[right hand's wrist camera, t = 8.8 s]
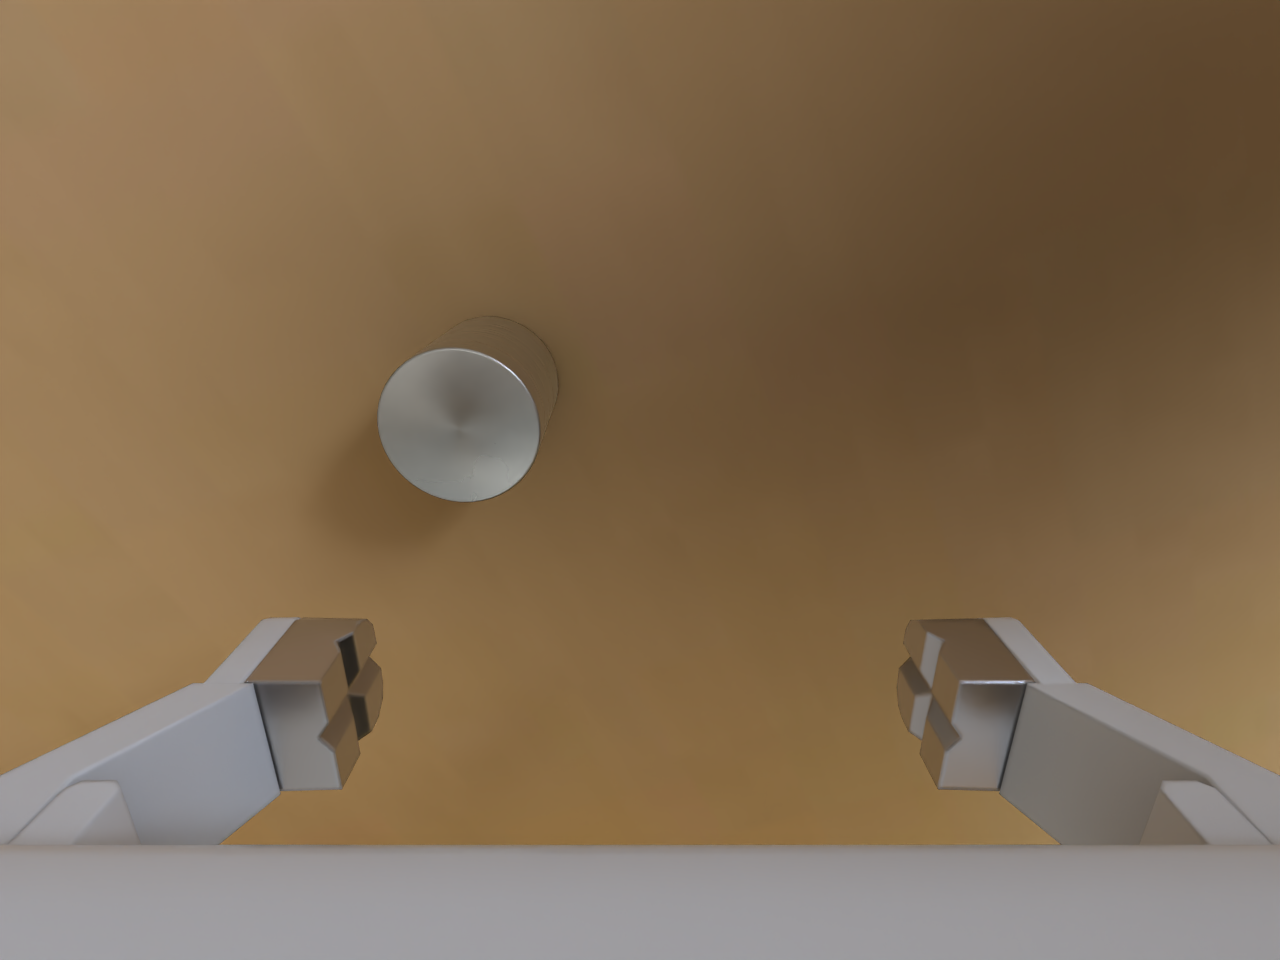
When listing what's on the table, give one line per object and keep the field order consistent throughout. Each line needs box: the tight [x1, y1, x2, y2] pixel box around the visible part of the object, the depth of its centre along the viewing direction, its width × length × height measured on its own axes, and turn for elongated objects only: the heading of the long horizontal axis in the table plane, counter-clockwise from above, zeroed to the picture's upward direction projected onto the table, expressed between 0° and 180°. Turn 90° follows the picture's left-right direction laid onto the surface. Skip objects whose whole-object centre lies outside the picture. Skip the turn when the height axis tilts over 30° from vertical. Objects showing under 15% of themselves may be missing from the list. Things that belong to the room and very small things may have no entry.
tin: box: [377, 317, 558, 502], centre depth 18 cm, size 4×4×4 cm
